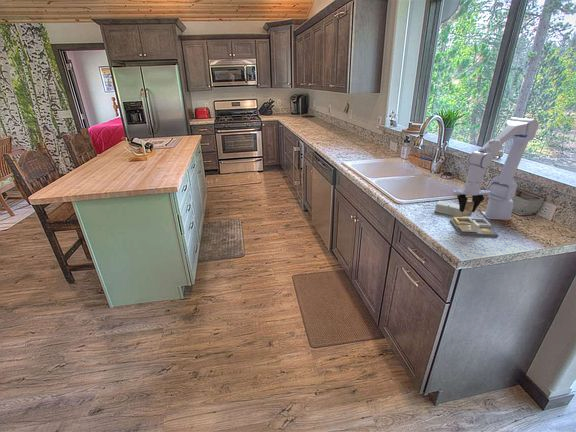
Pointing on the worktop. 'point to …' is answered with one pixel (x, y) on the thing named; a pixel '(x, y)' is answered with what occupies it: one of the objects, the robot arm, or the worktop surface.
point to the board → (483, 228)
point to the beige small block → (468, 208)
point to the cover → (470, 227)
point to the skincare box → (448, 208)
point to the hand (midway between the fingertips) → (466, 211)
